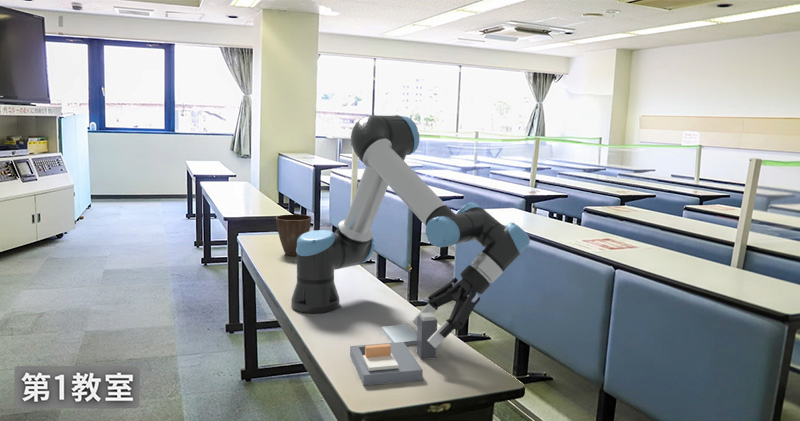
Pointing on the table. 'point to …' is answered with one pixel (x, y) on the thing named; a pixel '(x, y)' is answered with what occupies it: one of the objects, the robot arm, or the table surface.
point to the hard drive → (400, 334)
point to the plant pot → (292, 231)
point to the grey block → (426, 335)
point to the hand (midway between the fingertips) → (422, 334)
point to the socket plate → (403, 373)
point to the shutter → (379, 357)
